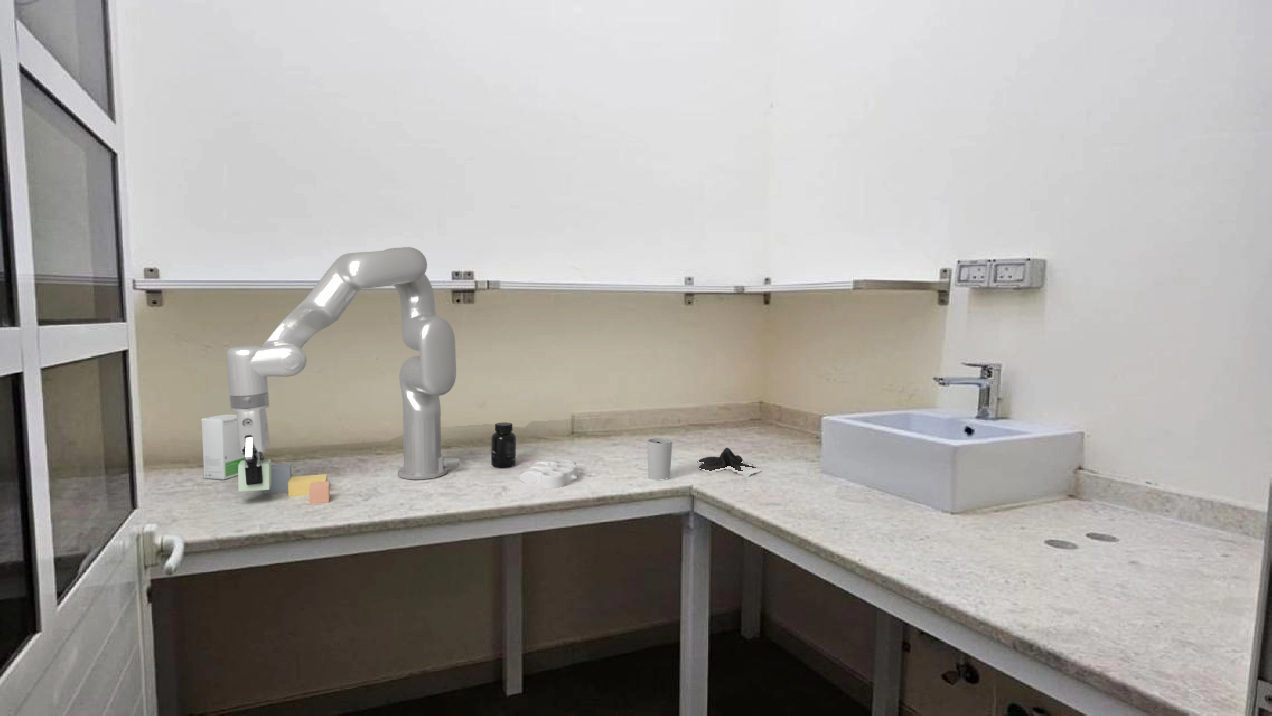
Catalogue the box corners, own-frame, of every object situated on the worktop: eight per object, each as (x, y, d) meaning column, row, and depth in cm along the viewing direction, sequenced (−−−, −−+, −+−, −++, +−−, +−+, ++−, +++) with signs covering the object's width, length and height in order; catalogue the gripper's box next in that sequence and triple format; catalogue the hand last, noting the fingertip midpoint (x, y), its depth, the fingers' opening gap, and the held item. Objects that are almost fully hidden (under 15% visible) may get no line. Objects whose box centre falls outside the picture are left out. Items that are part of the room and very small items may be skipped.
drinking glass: (641, 477, 181) (642, 440, 180) (657, 472, 185) (658, 437, 185) (660, 482, 176) (661, 444, 175) (676, 477, 181) (677, 440, 180)
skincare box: (223, 480, 171) (221, 420, 169) (201, 478, 172) (199, 418, 170) (249, 472, 179) (246, 414, 177) (227, 470, 180) (225, 413, 179)
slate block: (292, 487, 166) (291, 463, 165) (290, 492, 162) (289, 467, 162) (264, 489, 164) (263, 465, 163) (262, 494, 160) (261, 469, 159)
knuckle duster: (536, 469, 188) (587, 472, 186) (515, 487, 170) (572, 490, 168) (536, 457, 188) (587, 460, 186) (515, 474, 170) (572, 477, 168)
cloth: (765, 479, 183) (766, 457, 182) (697, 477, 184) (697, 455, 183) (756, 459, 205) (756, 439, 204) (695, 457, 206) (695, 437, 205)
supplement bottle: (486, 467, 188) (486, 424, 187) (500, 461, 195) (500, 420, 193) (507, 469, 186) (507, 427, 185) (520, 464, 192) (520, 422, 191)
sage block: (271, 484, 155) (271, 459, 155) (269, 489, 152) (268, 463, 151) (241, 486, 153) (241, 460, 153) (238, 491, 150) (238, 465, 149)
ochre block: (327, 487, 167) (327, 473, 167) (325, 494, 161) (325, 480, 161) (291, 490, 164) (291, 476, 164) (288, 497, 159) (288, 483, 158)
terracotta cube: (329, 498, 158) (329, 481, 158) (328, 503, 154) (328, 486, 154) (310, 499, 157) (310, 482, 156) (309, 504, 153) (308, 487, 153)
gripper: (263, 406, 144) (270, 489, 146) (273, 394, 159) (279, 469, 162) (223, 409, 141) (230, 494, 143) (237, 396, 157) (243, 473, 159)
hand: (256, 480), depth 152 cm, fingers closed on sage block, 3 cm apart
